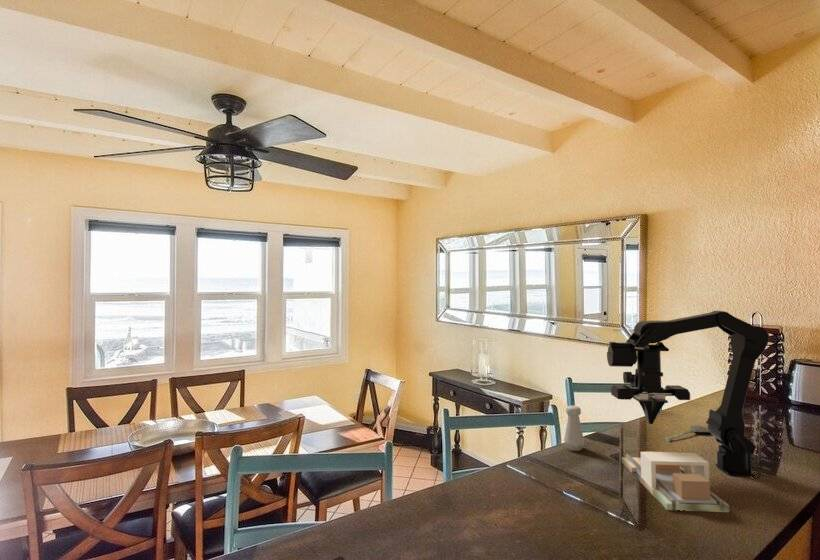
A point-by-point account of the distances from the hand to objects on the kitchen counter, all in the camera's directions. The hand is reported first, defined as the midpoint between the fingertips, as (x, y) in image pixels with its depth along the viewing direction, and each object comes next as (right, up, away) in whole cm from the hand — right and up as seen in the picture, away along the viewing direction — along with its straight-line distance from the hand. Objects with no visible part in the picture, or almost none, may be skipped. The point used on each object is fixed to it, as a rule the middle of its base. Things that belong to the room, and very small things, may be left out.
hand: (650, 423), depth 121 cm
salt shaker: (-16, -13, +14) cm, 25 cm away
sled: (-2, -10, -15) cm, 18 cm away
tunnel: (-2, -10, -13) cm, 17 cm away
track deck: (-1, -12, -11) cm, 16 cm away
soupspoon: (+26, -13, +24) cm, 38 cm away
